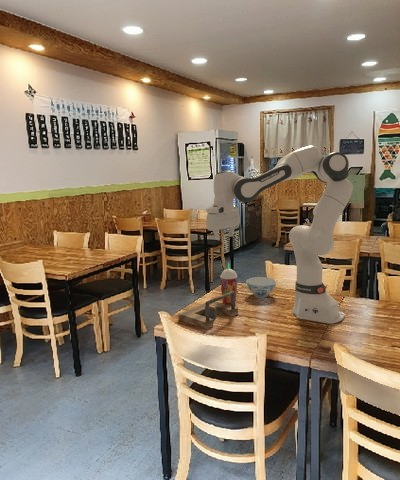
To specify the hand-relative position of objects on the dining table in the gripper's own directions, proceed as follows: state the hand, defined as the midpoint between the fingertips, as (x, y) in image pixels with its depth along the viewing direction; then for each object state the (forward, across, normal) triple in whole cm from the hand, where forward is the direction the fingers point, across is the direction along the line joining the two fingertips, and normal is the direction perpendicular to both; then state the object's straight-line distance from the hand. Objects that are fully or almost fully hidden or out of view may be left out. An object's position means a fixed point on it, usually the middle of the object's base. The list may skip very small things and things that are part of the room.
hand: (224, 237), depth 184 cm
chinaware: (+34, -27, +2) cm, 44 cm away
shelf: (+34, +12, 0) cm, 36 cm away
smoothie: (+34, -8, -4) cm, 35 cm away
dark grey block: (+34, +12, +1) cm, 36 cm away
